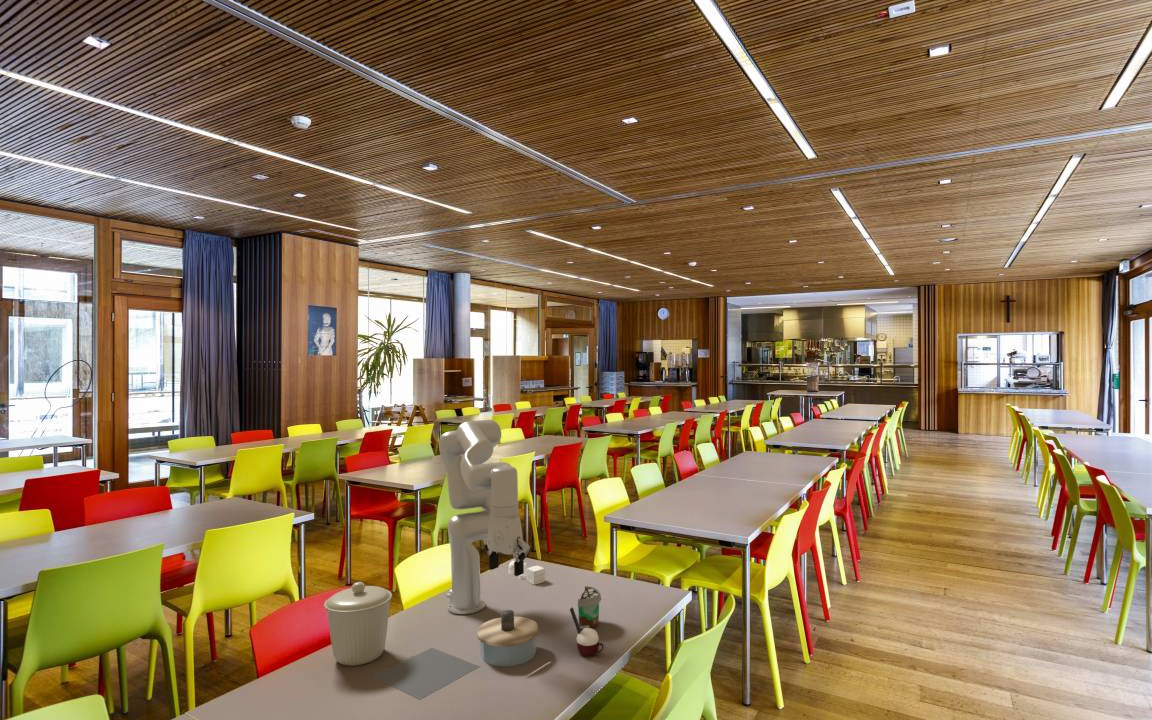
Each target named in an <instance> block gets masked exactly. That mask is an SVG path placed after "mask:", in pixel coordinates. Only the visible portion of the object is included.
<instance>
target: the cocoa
mask: <svg viewBox="0 0 1152 720" xmlns="http://www.w3.org/2000/svg"><path fill="white" fill-rule="evenodd" d="M569 612H570V614H571V617H572V621H573V623H574V625H575V627H576V631H577V636H576V647H577V651H578V653H579V654H580V655H582V656H583V657H585V656H586V658H590V657H589V656H591V657H593V656H595V655H596V654H599V653H600V652H602V651H603V650H604V648H605V647H604V644H603V643H602V642H600V639H599V634H598V632H597V631H596V630H595V629H591V628H584V629H583V630H582V631H581V629H580V626H579V619H578V618H577V615H576V612H575V609H574V607H571V608H570V609H569ZM599 646H601V649H599ZM587 656H588V657H587Z"/></svg>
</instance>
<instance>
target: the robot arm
mask: <svg viewBox="0 0 1152 720" xmlns="http://www.w3.org/2000/svg"><path fill="white" fill-rule="evenodd" d="M501 440H502V429H501V426H500V424H499V423H498V422H497V421H495V420H494V419H482V420H479V419H478V420H469V421H465V422H462V423H461V424H459V426H458V427H457V428H456V430H451V431H449V430H448V431H447V432H444V433H442V434H441V435H440V437H439V440H438V450H439V454H440V457H441V460H442V462H443V465H444V467H445V470H446V471H445V472H446V478H447V479H446V481H447V489H448V490H447V492H448V498H449V499H448V500H449V505H450V507H451V508H452V509H453V510H455V511H456V510H457V511H459V510H470V509H478V508H481V510H482V511H481V510H479V511H475V512H466V513H465V512H464V513H459V514H456V515H453V516H451V518H449V520H448V522H447V533H448V538H449V539H448V540H449V546H450V563H451V564H450V565H451V569H450V571H451V573H450V574H451V589H450V590H449V591H448V593H446V598H449V599H450V602H449V603H448V604H447V611H448V612H450V613H452V614H455V615H469V614H474V613H478V612H480V611H483V609H484V608H485V607H486V600H484V599H482V597H481V567H480V565H481V562H480V553H479V550H478V549H477V548H476V547H475V546H474V545H473V544H472V543H473V542H478V541H483V543H484V548H485V550H486V552H487V553H486V554H487V555H488V556H489V557H488V559H489V561H488V565H489V566H488V567H489V570H490V571H493V570H496V569H498V568H499V566H500V561H499V559H500V557H499V555H500V554H503V555H509V556H510V555H512V557H513V558H514V559H515V560H516V561H515V562H514V575H513V576H515V577H519V575H521V574H523V573H524V563H525V562H524V560H526V558H527V556H528V555H529V551H530V548H531V546H530V545H529V544H528V543H527V542H526V541H524V538H523V537H524V536H523V529H522V528H523V526H522V523H521V521H522V520H521V516H520V515H519V489H518V486H519V484H518V483H519V481H518V470H517V468H516V467H514V466H512V465H511V464H510V463H509V462H506V461H505V462H504V461H503V462H502V461H500V462H490V463H486V462H488V461H489V460H490V458H492V456H493V453H494V448H495V447H496V446H497V445H498V444H499V443H500V442H501Z"/></svg>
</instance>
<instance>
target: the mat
mask: <svg viewBox="0 0 1152 720" xmlns="http://www.w3.org/2000/svg"><path fill="white" fill-rule="evenodd" d="M480 667H481V666H480V665H477V664H475V663H472V662H470V661H467V660H464V659H462V658H460V657H457V656H455V655H451V654H450V653H447V652H444V651H441V650H439V649H436V648H434V647H430V648H429V649H426V650H424V651H422V652H419V653H418V654H415V655H414V656H411V657H409V658H407V659H405V660H403V661H401V662H398V663H397V664H394V665H392V666H390V667H388V668H385V669H384V670H382V671H379V672H378V673H376V674H374V675H371V677H372V678H373V679H375V680H377V681H380V682H381V683H383V684H386V685H387V686H390V687H392V688H394V689H396V690H398V691H400V692H403V693H405V694H406V695H409V696H411V697H413V698H415V699H417V700H419V701H420V700H422V699H424V698H426V697H429V696H430V695H431V694H433V693H435V692H436V691H439V690H440V689H442V688H444V687H446V686H448V685H449V684H451V683H453V682H454V681H457V680H459V679H460V678H462V677H464V676H466V675H467V674H469V673H471V672H473V671H475V670H477V669H479V668H480Z"/></svg>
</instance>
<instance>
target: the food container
mask: <svg viewBox="0 0 1152 720" xmlns="http://www.w3.org/2000/svg"><path fill="white" fill-rule="evenodd" d="M601 601H602V594H601V593H600V590H599V589H598V588H595V587H594V586H588V585H587V586H586V585H585V586H584V591H583V592H582V594H581V596H580V598H578V599H577V608H578V609H577V610H578V623H579V626H580V629H581V631H582V630H583V629H584V628H591V629H594V630H595V629H596V628H598V626H599V620H600V619H599V615H600V602H601Z"/></svg>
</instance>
